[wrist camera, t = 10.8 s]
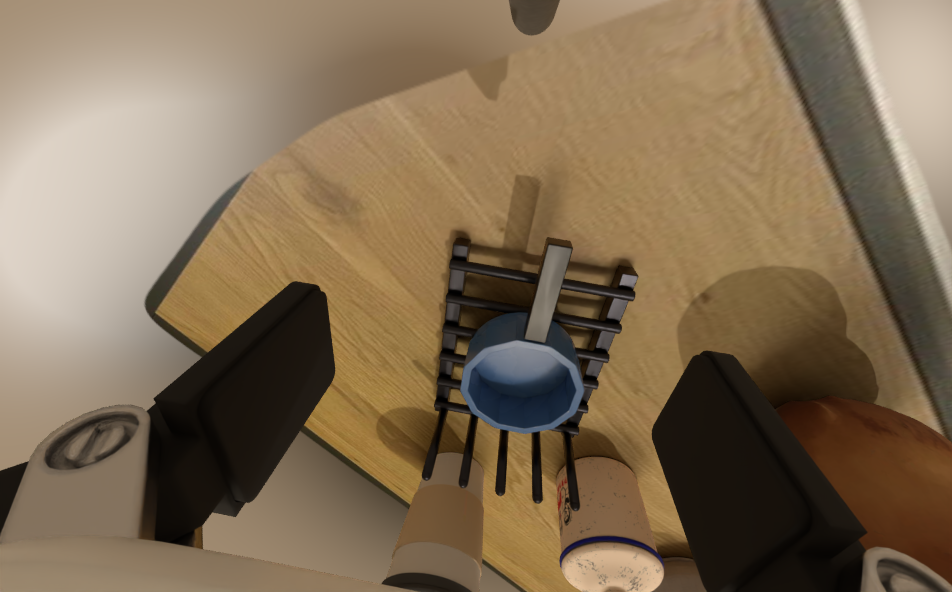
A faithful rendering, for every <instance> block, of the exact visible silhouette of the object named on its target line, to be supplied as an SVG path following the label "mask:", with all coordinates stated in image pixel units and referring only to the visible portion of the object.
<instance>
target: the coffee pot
mask: <svg viewBox="0 0 952 592" xmlns="http://www.w3.org/2000/svg"><path fill="white" fill-rule="evenodd" d="M662 560H663V563H664V576H663V580H662V582H661V583H660V585H659V586H658V587H657V588H656V589H655V590H653V591H651V592H707V591H706V589H705V588H704V586H703V583H702V581H701V578H700V575H699V572H698V569H697V567H696V564H695V561H694V560H693V559H690V558H683V557H670V558H663V559H662Z"/></svg>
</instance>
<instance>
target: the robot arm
mask: <svg viewBox="0 0 952 592" xmlns="http://www.w3.org/2000/svg"><path fill="white" fill-rule="evenodd" d="M334 375H335V363H334V354H333V346H332V338H331V330H330V321H329V313H328V305H327V297H326V294H325V292H322V291H321V290H320V288H319V286H317V285H315V284H309V283H303V282H297V281H295V282H292V283H290V284H289V285H288V286H287V287H285V288H284V289H283V290H282V291H281V292H280V293H278V294H277V295H276V296H275V297H274V298H272V299H271V300H270V301H269V302H268V303H266V304H265V305H264V306H263V307H262V308H260V309H259V310H258V311H257V312H256V313H255V314H253V315H252V316H251V317H250V318H249V319H247V320H246V321H245V322H244V323H243V324H241V325H240V326H239V327H238V328H237V329H236V330H234V331H233V332H232V333H231V334H230V335H228V336H227V337H226V338H225V339H224V340H222V341H221V342H220V343H219V344H218V345H216V346H215V347H214V348H213V349H212V350H211V351H209V352H208V353H207V354H206V355H205V356H203V357H202V358H201V359H200V360H199V361H197V362H196V363H195V364H194V365H193V366H192V367H190V368H189V369H188V370H187V371H186V372H184V373H183V374H182V375H181V376H180V377H178V378H177V379H176V380H175V381H174V382H173V383H172V384H170V385H169V386H168V387H167V388H165V389H164V390H163V391H162V392H161V393H160V394H158V395H157V396H156V397H155V398H154V401H155V402H156V404H155V405H153V406H152V407H151V408H150V409H149V410H147V411H145V410H144V409H143V408H141V407H138V406H134V405H115V406H109V407H104V408H100V409H97V410H94V411H91V412H88V413H85V414H83V415H81V416H79V417H77V418H75V419H73V420H71V421H69V422H67V423H65V424H64V425H62V426H61V427H59V428H58V429H56V430H55V431H53V432H52V433H50V434H49V435H48V436H47V437H46V438H45V439H44V440H43V441H42V442H41V443H40V444H39V445H38V446H37V448H36V449H35V451H34V453H33V454H32V456H31V457H30V460H29V461H28V462H25V463H22V464H19V465H16V466H13V467H10V468H7V469H4V470H1V471H0V592H417V591H412V590H407V589H403V588H398V587H393V586H388V585H383V584H378V583H373V582H368V581H363V580H358V579H353V578H348V577H343V576H338V575H333V574H328V573H323V572H318V571H313V570H308V569H303V568H299V567H293V566H289V565H283V564H279V563H273V562H269V561H264V560H259V559H254V558H248V557H243V556H237V555H232V554H226V553H221V552H215V551H210V550H204V549H203V540H202V539H203V538H202V525H203V524H204V523H205V521H206V520H207V518H208V517H209V516H210V515H211V513H212V512H214V513H219V514H223V515H228V516H233V517H236V516H237V514H238V513H239V511H240V510H241V508H242V507H243V505H244V504H245V503H246V502H247V503H249V502H251V501H253V500H254V499H255V498H256V496H257V495H258V494H259V492H260V490H261V489H262V488H263V486H264V485H265V483H266V482H267V480H268V479H269V477H270V475H271V474H272V472H273V471H274V469H275V468H276V466H277V465H278V463H279V462H280V460H281V459H282V457H283V456H284V454H285V452H286V451H287V450H288V448H289V447H290V445H291V443H292V442H293V440H294V439H295V437H296V436H297V434H298V433H299V431H300V430H301V428H302V427H303V425H304V424H305V422H306V421H307V419H308V418H309V416H310V415H311V413H312V412H313V410H314V409H315V407H316V405H317V404H318V402H319V401H320V399H321V398H322V396H323V395H324V393H325V392H326V390H327V389H328V387H329V386H330V384H331V383H332V381H333V378H334ZM652 440H653V443H654V446H655V449H656V452H657V455H658V457H659V460H660V463H661V466H662V469H663V472H664V475H665V477H666V480H667V483H668V486H669V489H670V492H671V495H672V498H673V500H674V503H675V506H676V509H677V512H678V515H679V518H680V521H681V523H682V526H683V529H684V532H685V535H686V538H687V541H688V544H689V546H690V549H691V552H692V555H693V558H694V561H695V564H696V567H697V569H698V572H699V575H700V578H701V581H702V583H703V586H704V588H705V589H706V591H707V592H952V585H951V584H949V583H948V582H947V581H946V580H945V579H944V578H942V577H941V576H939V575H938V574H937V573H935V572H934V571H932V570H931V569H930V568H928V567H927V566H925V565H924V564H922V563H920V562H919V561H917V560H915V559H913V558H911V557H910V556H908V555H906V554H904V553H901V552H898V551H895V550H893V549H890V548H883V547H874V548H871V549H869V550H866V549H865V548H864V547H863V545H862V544H861V542H860V541H859V539H860V538H861V537H863V536H864V535H865V534H867V533H868V532H867V531H866V529H865V528H864V527H863V526H862V524H861V523H860V522H859V520H858V519H857V518H856V516H855V515H854V514H853V512H852V511H851V510H850V508H849V507H848V506H847V504H846V503H845V502H844V500H843V499H842V498H841V496H840V495H839V494H838V492H837V491H836V490H835V488H834V487H833V486H832V484H831V483H830V482H829V481H828V479H827V478H826V477H825V475H824V474H823V473H822V471H821V470H820V469H819V467H818V466H817V465H816V463H815V462H814V461H813V459H812V458H811V457H810V455H809V454H808V453H807V451H806V450H805V449H804V447H803V446H802V445H801V443H800V442H799V441H798V439H797V438H796V437H795V436H794V434H793V433H792V432H791V430H790V429H789V428H788V426H787V425H786V424H785V422H784V421H783V420H782V418H781V417H780V416H779V414H778V413H777V412H776V410H775V409H774V408H773V406H772V405H771V404H770V402H769V401H768V400H767V398H766V397H765V396H764V394H763V393H762V392H761V391H760V389H759V388H758V387H757V385H756V384H755V383H754V381H753V380H752V379H751V377H750V376H749V375H748V373H747V372H746V371H745V369H744V368H743V367H742V365H741V364H740V363H739V361H738V360H737V359H736V358H735V357H734V356H733V355H730V354H725V353H719V352H713V351H703V352H702V353H701V354H700V355H695V356H694V357H693V358H692V359H691V361H690V362H689V364H688V366H687V368H686V369H685V371H684V373H683V375H682V376H681V378H680V380H679V382H678V383H677V385H676V387H675V389H674V390H673V392H672V394H671V396H670V397H669V399H668V401H667V403H666V404H665V406H664V408H663V410H662V412H661V413H660V415H659V417H658V419H657V420H656V422H655V424H654V426H653V429H652Z"/></svg>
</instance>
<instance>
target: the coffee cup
mask: <svg viewBox="0 0 952 592" xmlns="http://www.w3.org/2000/svg"><path fill="white" fill-rule="evenodd" d="M462 459H463V454H460V453H453V452H447V453H440V454H437V457H436V461H435V465H434V469H433V473H432V477H431V479H430V480H428V481H425V480H423V478H422V480H421V482H420V485H419V488H418V491H417V492H416V493H415V495H414V497H413V500H412V503H411V506H410V508H409V511H408V514H407V517H406V519H405V522H404V525H403V527H402V530H401V533H400V536H399V538H398V541H397V544H396V546H395V549H394V552H393V555H392V563H391V566H390V569H389V571H388V574H387V577H386V579H385V580H384V581H383V582H382V584H383V585H388V586H393V587H398V588H403V589H407V590H412V591H417V592H479V585H480V577H481V573H482V543H483V514H484V509H483V480H484V472H483V469H482V467H481V466H480V464H479V463H478V462H477V461H475V460H474V459H472V463H471V469H470V476H469V482H468V486H467V487H466V488H461V487H460V486H459V484H458V482H459V476H460V470H461V465H462Z"/></svg>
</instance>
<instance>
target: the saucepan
mask: <svg viewBox="0 0 952 592" xmlns="http://www.w3.org/2000/svg"><path fill="white" fill-rule="evenodd" d="M572 250H573V247H572V244H571V241H567V240H561V239H555V238H549V237H547V239H546V243H545V247H544V251H543V255H542V259H541V263H540V267H539V271H538V275H537V279H536V283H535V287H534V291H533V295H532V299H531V303H530V307H529V311H528V313H525V312H517V313H509V314H504V315H501V316H498V317H495V318H493V319H491V320H490V321H488V322H486V323H485V324H484V325H483V326H481V327H480V328H479V329H478V331H477V332H476V333H475V335H474V336H473V338H472V339H471V340H470V343H469V347H468V352H467V356H466V360H465V364H464V369H463V375H462V382H461V388H460V391H461V393H462V395H463V397H464V399H465V401H466V402H467V404H468V406H469V408H470V410H471V412H472V413H473V414H475V415H476V416H478V417H479V418H481V419H482V420H484V421H485V422H487V423H488V424H490V425H491V426H493V427H494V428H498V429H503V430H508V431H513V432H518V433H523V434H527V433H532V432H538V431H544V430H550V429H553V428H555V427H557V426H558V425H560V424H561V423H562V422H564V421H565V420H567V419H568V418H570V417H571V416H573V415H574V414H575V413H576V411H577V409H578V406H579V404H580V401H581V399H582V396H583V393H584V391H585V390H584V384H583V379H582V374H581V369H580V364H579V359H578V357H577V354H576V350H575V346H574V343H573V341H572V339H571V337H570V336H569V334H568V333H567V332H566V331H565V330H564V329H563V328H562V327H561V326H560V325H559V324H557V323H556V322H554V321H552V319H553V315H554V312H555V308H556V305H557V301H558V298H559V295H560V291H561V288H562V284H563V281H564V277H565V274H566V271H567V267H568V264H569V260H570V257H571V253H572Z"/></svg>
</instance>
